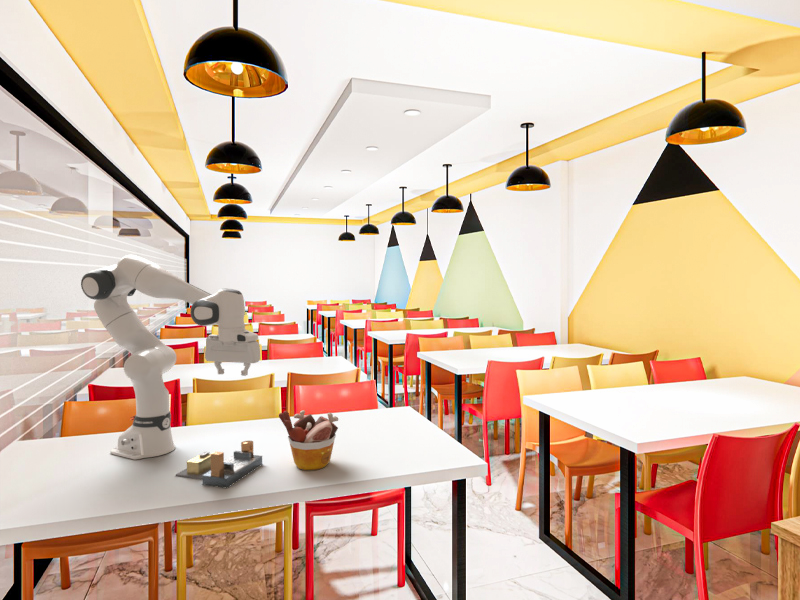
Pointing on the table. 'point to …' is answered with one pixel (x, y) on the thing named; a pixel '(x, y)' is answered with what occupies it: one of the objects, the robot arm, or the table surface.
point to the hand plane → (231, 466)
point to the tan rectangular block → (199, 464)
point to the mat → (184, 474)
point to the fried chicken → (310, 439)
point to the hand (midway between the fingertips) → (232, 374)
